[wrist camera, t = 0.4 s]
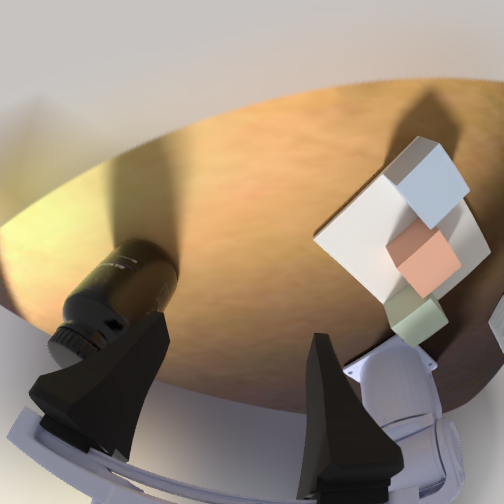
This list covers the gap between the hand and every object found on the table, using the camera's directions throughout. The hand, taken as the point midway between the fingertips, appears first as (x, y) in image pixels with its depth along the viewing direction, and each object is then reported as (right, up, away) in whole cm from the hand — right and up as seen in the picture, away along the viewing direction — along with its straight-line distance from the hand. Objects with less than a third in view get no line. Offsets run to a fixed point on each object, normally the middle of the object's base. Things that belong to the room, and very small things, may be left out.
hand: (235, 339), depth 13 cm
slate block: (+12, +9, +4) cm, 16 cm away
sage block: (+15, 0, +9) cm, 17 cm away
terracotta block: (+14, +5, +6) cm, 16 cm away
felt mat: (+14, +5, +7) cm, 16 cm away
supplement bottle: (-9, +3, +12) cm, 15 cm away
